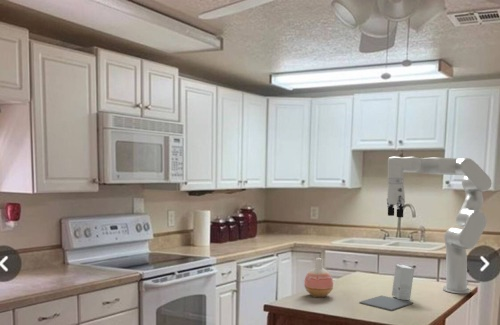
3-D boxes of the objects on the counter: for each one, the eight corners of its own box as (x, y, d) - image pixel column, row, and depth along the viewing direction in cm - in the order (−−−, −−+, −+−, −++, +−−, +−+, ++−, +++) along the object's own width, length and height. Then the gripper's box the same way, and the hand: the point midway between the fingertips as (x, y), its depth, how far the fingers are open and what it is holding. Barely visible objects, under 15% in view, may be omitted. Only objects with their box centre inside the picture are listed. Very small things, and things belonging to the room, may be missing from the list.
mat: (381, 296, 222) (381, 295, 222) (412, 303, 210) (412, 302, 210) (359, 303, 210) (359, 301, 210) (391, 310, 198) (391, 309, 198)
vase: (315, 291, 231) (315, 255, 232) (338, 296, 222) (339, 258, 222) (298, 295, 221) (298, 258, 222) (322, 301, 212) (322, 262, 212)
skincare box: (391, 295, 222) (394, 263, 223) (403, 296, 223) (406, 265, 224) (398, 299, 214) (402, 266, 215) (411, 300, 215) (414, 268, 215)
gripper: (411, 182, 225) (411, 218, 224) (394, 181, 242) (394, 215, 241) (396, 181, 224) (396, 217, 223) (381, 181, 241) (380, 215, 240)
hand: (395, 216), depth 232 cm, fingers open, 9 cm apart
